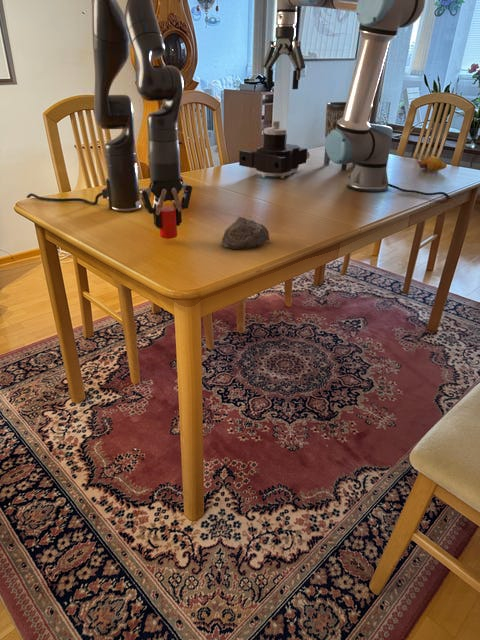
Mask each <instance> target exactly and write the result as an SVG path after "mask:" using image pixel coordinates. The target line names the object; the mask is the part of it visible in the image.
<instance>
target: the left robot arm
mask: <svg viewBox="0 0 480 640" xmlns="http://www.w3.org/2000/svg"><path fill="white" fill-rule="evenodd" d="M91 31H92V33H91V34H92V50H93V65H94V96H93V97H94V98H93V99H94V102H93V107H94V108H93V111H94V119H95V122H96V124H97V126H98V128H99V129H102V130H121V133H119V135H118V136H116V137H115V138H113V139H110V140H108V141H106V142H105V143H104V144H103V145H104V146H103V147H104V155H105V156H104V157H105V163H106V164H105V165H106V171H107V178H106V179H105V185H106V186H105V188H103V189H102V190H101V192H99V193H98V194H96V196H95V198H94V201H89V200H88V199H85V198H81V197H69V198H68V197H67V198H54V197H53V198H52V197H51V198H50V197H44V196H40V195H37V194H35V193H32V192H31V193H29V194H27V195H26V199H30V198H31V197H33V198H34V199H37V200H39V201H46V202H47V201H48V202H83V203H85V204H87V205H88V204H89V205H92V206H95V205H97V204H98V202H99V198H101V197H102V199H105V200H106V199H107V201H108V209H109V210H112V211H115V212H119V213H120V212H122V213H128V212H129V213H130V212H135V211H138V210H140V209H141V208H142V204H143V207H144V209H145V211H146V212H147V213H149V214H150V215H151V214H152V217H153V225H154V227H156V228H157V229H158V230H160V229H161V228H162V225H161V215H160V212H161V208H162V207H163V206H164V203H165V202H169V201H170V202H171V203H172V207H175V208H176V219H177V227H179V226H181V224H182V222H183V219H182V211H183V210H186V209H189V205H190V202H191V201H190V200H191V197H192V192H193V186H192V185H190V184H189V183H183V184H182V183H181V180H180V177H182V176H181V153H180V143H179V133H178V120H179V114H180V109H181V104H182V100H183V95H184V86H185V85H184V78H183V75H182V73H181V71H180V70H179V68H178V67H177V66H174V65H153V64H152V62H154V61H157V60H159V59H161V58H162V56H164V54H165V51H166V45H165V42H164V39H163V35H162V32H161V29H160V26H159V22H158V19H157V15H156V12H155V7H154V2H153V0H126V6H125V9H124V10H123V9H122V8H121V6H120V4H119V3H118V1H117V0H91ZM131 47H132V50H133V57H134V58H133V59H134V68H135V88H136V91H137V93H138V95H139V96H140V97H141V98H142V99H143V100H144V101H146V102H162V104H161V107H160V108H159V109H158V110H156V111H153V112H151V113H148V115H147V118H146V122H147V123H146V125H147V138H148V142H147V144H148V145H147V159H148V166H149V167H148V169H149V179H150V182H149V185H148V187H146V188H144V189H143V188H140V184H139V183H140V182H139V172H138V163H137V162H138V161H137V151H136V136H135V117H134V106H133V105H134V104H133V101H132V99H131V97H130V96H129V95H127V94H110V91H111V88H112V85H113V83H114V81H115V79H116V78H117V76H118V75H119V74H120V72H121V71H122V70H123V68H124V67H125V65H126V64H127V61H128V59H129V56H130V50H131V49H130V48H131ZM181 192H182V195H181V199H180V197H179V193H181ZM151 193H152V194H153V197H154V198H153V206H152V203H151V201H150V197H151Z"/></svg>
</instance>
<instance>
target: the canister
mask: <svg viewBox="0 0 480 640" xmlns="http://www.w3.org/2000/svg"><path fill="white" fill-rule="evenodd" d="M160 215H161V225H162V228H161V229H159V237H160V238H162V239H176V238H177V237H178V226H177V219H176V208H175V207H174V206H173V205H172V206H171V205H165V206H164V205H163V206H162V208H161V212H160Z"/></svg>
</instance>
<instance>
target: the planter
mask: <svg viewBox="0 0 480 640" xmlns="http://www.w3.org/2000/svg"><path fill="white" fill-rule="evenodd" d="M346 102H347V101H333V102H327V103H326V109H325V124H324V125H325V126H324V139H326V138H327V135H328V134H329V133H330V132H331V131H332V130H335V129H336V125H337V121H338V120H339V119H340V118H342V117H343V114H344V110H345V106H346ZM373 107H374V106H373V105H372V106H371V110H370V113H369V117H368V121H367V122H368V123H370V121H371V116H372V112H373ZM325 142H326V140H325ZM323 157H324V158H323V165H325V166H328V165H330V163H331V160H330V158H329V157H328V154H327V152H326V147H325V146H324V156H323ZM351 164H352V166H353V167H355V165H356V162H354V163H351ZM347 165H348V164H341V166H340V170H341V172H345V171H347V167H348V166H347Z"/></svg>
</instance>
